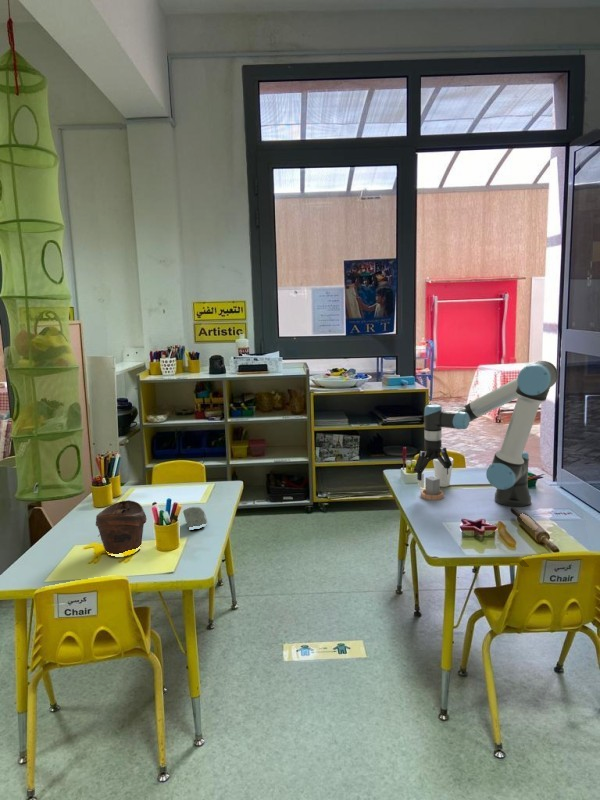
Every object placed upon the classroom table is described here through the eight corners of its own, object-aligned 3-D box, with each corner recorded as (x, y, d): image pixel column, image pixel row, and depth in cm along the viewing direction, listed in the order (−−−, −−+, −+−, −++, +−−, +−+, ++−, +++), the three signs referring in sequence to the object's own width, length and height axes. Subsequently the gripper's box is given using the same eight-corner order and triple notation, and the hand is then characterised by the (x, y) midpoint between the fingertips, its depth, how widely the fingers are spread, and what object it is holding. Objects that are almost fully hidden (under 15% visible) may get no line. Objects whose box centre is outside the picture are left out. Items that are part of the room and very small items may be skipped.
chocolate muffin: (136, 534, 222) (131, 492, 219) (157, 551, 207) (153, 506, 203) (91, 548, 211) (85, 504, 208) (110, 567, 196) (104, 519, 192)
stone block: (439, 495, 254) (439, 479, 253) (432, 497, 252) (432, 480, 251) (432, 492, 259) (432, 476, 257) (425, 494, 257) (425, 477, 255)
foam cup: (429, 482, 274) (429, 457, 272) (445, 480, 277) (446, 455, 274) (439, 488, 265) (439, 462, 263) (456, 486, 268) (457, 460, 266)
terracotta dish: (448, 497, 253) (448, 493, 253) (430, 501, 249) (430, 497, 248) (433, 491, 262) (433, 487, 262) (416, 495, 258) (416, 490, 257)
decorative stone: (203, 534, 221) (211, 510, 225) (176, 525, 221) (186, 501, 224) (203, 537, 233) (211, 514, 237) (178, 529, 233) (187, 506, 236)
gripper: (448, 433, 260) (448, 477, 263) (405, 441, 248) (405, 486, 252) (459, 436, 253) (459, 481, 256) (416, 444, 242) (416, 491, 245)
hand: (432, 484), depth 254 cm, fingers open, 13 cm apart
